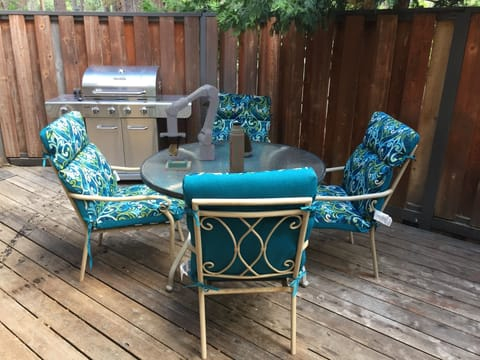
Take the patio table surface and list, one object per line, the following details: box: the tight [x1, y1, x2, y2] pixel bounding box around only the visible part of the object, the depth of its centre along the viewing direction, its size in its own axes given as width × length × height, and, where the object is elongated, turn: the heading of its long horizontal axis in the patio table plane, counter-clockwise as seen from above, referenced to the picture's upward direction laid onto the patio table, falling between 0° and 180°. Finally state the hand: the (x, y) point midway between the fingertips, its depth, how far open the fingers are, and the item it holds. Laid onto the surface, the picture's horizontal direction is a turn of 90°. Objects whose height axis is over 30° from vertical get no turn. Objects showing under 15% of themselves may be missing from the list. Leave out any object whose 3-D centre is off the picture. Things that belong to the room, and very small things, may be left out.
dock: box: [164, 158, 192, 171], centre depth 235 cm, size 14×12×4 cm
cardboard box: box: [168, 144, 179, 157], centre depth 241 cm, size 4×6×5 cm
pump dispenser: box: [243, 131, 253, 158], centre depth 254 cm, size 10×10×15 cm
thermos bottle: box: [229, 121, 245, 174], centre depth 221 cm, size 8×8×28 cm
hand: (173, 148), depth 240 cm, fingers closed on cardboard box, 4 cm apart
